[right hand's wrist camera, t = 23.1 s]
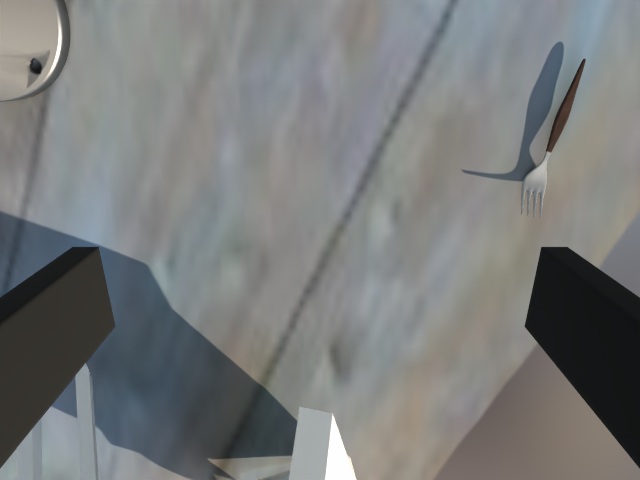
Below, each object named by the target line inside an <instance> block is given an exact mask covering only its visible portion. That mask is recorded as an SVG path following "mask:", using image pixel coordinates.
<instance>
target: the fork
mask: <svg viewBox="0 0 640 480" xmlns="http://www.w3.org/2000/svg"><path fill="white" fill-rule="evenodd" d="M585 60H586V59H583V61H582V62H581V64H580V66H579V68H578V71H577V73H576V75H575V77H574V79H573V81H572V83H571V86H570V88H569V90H568V92H567V94H566V96H565V98H564V100H563V102H562V104H561V106H560V108H559V110H558V113H557V115H556V117H555V120H554V123H553V127H552V130H551V134H550V138H549V142H548V145H547V149H546V153H545V156H544V159H543V161H542V162H541V163H540V164H539V165H538V166H537V167H536V168H534V169H533V170H532V171H531V172H529V173H528V174H527V175H526V177H525V178H524V180H523V184H522V195H521V215H522V213H523V204H524V196H525V192H526V191H527V192H528V199H527V216H529V206H530V199H531V194H532V192H533V193H534V209H533V215H534V217H535V209H536V201H537V195H538V193H539V194H540V219H541V212H542V204H543V197H544V192H545V188H546V182H547V173H546V164H547V160H548V158H549V156H550V154H551V152H552V150H553V148H554V146H555V144H556V142H557V140H558V138H559V136H560V134H561V132H562V130H563V128H564V126H565V124H566V122H567V120H568V117H569V114H570V111H571V108H572V104H573V101H574V97H575V94H576V90H577V87H578V84H579V81H580V78H581V75H582V71H583V68H584V64H585Z"/></svg>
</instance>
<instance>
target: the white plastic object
mask: <svg viewBox="0 0 640 480" xmlns="http://www.w3.org/2000/svg"><path fill="white" fill-rule="evenodd" d="M75 379H76V399H77V419H78V438H79V458H80V478H81V480H99V477H98V461H97V446H96V431H95V415H94V400H93V385H92V377H91V374H90V372H89V369H88V367H87V365H86V363H85V364H84V366H83V367H82V368H81V369H80V371H79V372H78V373H77V374H76V376H75ZM17 480H42V434H41V419H40V420H39V421H38V422H37V424H36V425H35V426H34V427H33V429H32V430H31V431H30V432H29V434H28V435H27V436H26V437H25V438H24V440H23V441H22V442H21V443H20V445H19V446H18V447H17ZM258 480H356V477H355V473H354V470H353V466H352V462H351V459H350V457H349V456H348V455H347V454H346V451H345V448H344V446H343V443H342V440H341V437H340V434H339V431H338V428H337V425H336V422H335V419H334V416H333V414H332V413H328V412H323V411H318V410H313V409H308V408H304V407H300V409H299V415H298V422H297V428H296V435H295V442H294V448H293V455H292V462H291V468H290V470H288V471H284V472H281V473H278V474H274V475H271V476H268V477H264V478H261V479H258Z"/></svg>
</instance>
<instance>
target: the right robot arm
mask: <svg viewBox="0 0 640 480" xmlns="http://www.w3.org/2000/svg"><path fill="white" fill-rule="evenodd" d="M69 46H70V24H69V17H68V12H67V8H66V5H65V2H64V0H0V102H2V101H13V100H21V99H26V98H29V97H32V96H35V95H37V94H39V93H41V92H42V91H44V90H45V89H47V88H48V87H49V86H50V85H51V84H52V83H53V82H54V81H55V80H56V79H57V77H58V76H59V74H60V73H61V71H62V69H63V67H64V65H65V62H66V59H67V56H68V52H69ZM114 327H115V323H114V318H113V313H112V309H111V304H110V299H109V294H108V290H107V285H106V280H105V276H104V271H103V266H102V261H101V257H100V252H99V247H72V248H71V249H69V250H68V251H66V252H65V253H63V254H62V255H61V256H59V257H58V258H56V259H55V260H53V261H52V262H51V263H49V264H48V265H46V266H45V267H43V268H42V269H41V270H39V271H38V272H36V273H35V274H33V275H32V276H31V277H29V278H28V279H26V280H25V281H23V282H22V283H21V284H19V285H18V286H16V287H15V288H13V289H12V290H11V291H9V292H8V293H6V294H5V295H3V296H2V297H1V298H0V468H1V467H2V466H3V464H4V463H5V462H6V461H7V459H8V458H9V457H10V456H11V454H12V453H13V452H14V451H15V450H16V448H17V447H18V446H19V445H20V443H21V442H22V441H23V440H24V438H25V437H26V436H27V435H28V434H29V432H30V431H31V430H32V429H33V427H34V426H35V425H36V424H37V422H38V421H39V420H40V419H41V417H42V416H43V415H44V414H45V413H46V411H47V410H48V409H49V408H50V406H51V405H52V404H53V403H54V401H55V400H56V399H57V398H58V397H59V395H60V394H61V393H62V392H63V390H64V389H65V388H66V387H67V385H68V384H69V383H70V382H71V380H72V379H73V378H74V377H75V376H76V374H77V373H78V372H79V371H80V369H81V368H82V367H83V366H84V364H85V363H86V362H87V361H88V360H89V358H90V357H91V356H92V355H93V353H94V352H95V351H96V350H97V348H98V347H99V346H100V345H101V343H102V342H103V341H104V340H105V339H106V337H107V336H108V335H109V334H110V332H111V331H112V330H113V329H114ZM525 327H526V329H527V330H528V331H529V332H530V334H531V335H532V336H533V337H534V339H535V340H536V341H537V342H538V343H539V345H540V346H541V347H542V348H543V350H544V351H545V352H546V353H547V355H548V356H549V357H550V358H551V359H552V361H553V362H554V363H555V364H556V366H557V367H558V368H559V369H560V371H561V372H562V373H563V374H564V376H565V377H566V378H567V379H568V380H569V382H570V383H571V384H572V385H573V387H574V388H575V389H576V390H577V392H578V393H579V394H580V395H581V397H582V398H583V399H584V400H585V401H586V403H587V404H588V405H589V406H590V408H591V409H592V410H593V411H594V413H595V414H596V415H597V416H598V417H599V419H600V420H601V421H602V422H603V424H604V425H605V426H606V427H607V428H608V430H609V431H610V432H611V433H612V435H613V436H614V437H615V438H616V440H617V441H618V442H619V443H620V445H621V446H622V447H623V448H624V450H625V451H626V452H627V453H628V454H629V456H630V457H631V458H632V459H633V461H634V462H635V463H636V464H637V466H638V467H639V468H640V298H639V297H638V296H637V295H635V294H634V293H632V292H631V291H629V290H628V289H627V288H625V287H624V286H622V285H621V284H619V283H618V282H617V281H615V280H614V279H612V278H611V277H609V276H608V275H606V274H605V273H604V272H602V271H601V270H599V269H598V268H597V267H595V266H594V265H592V264H591V263H589V262H588V261H587V260H585V259H584V258H582V257H581V256H579V255H578V254H577V253H575V252H574V251H572V250H571V249H569V248H568V247H541V252H540V257H539V261H538V266H537V271H536V276H535V280H534V285H533V290H532V294H531V299H530V304H529V309H528V313H527V318H526V323H525Z"/></svg>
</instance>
